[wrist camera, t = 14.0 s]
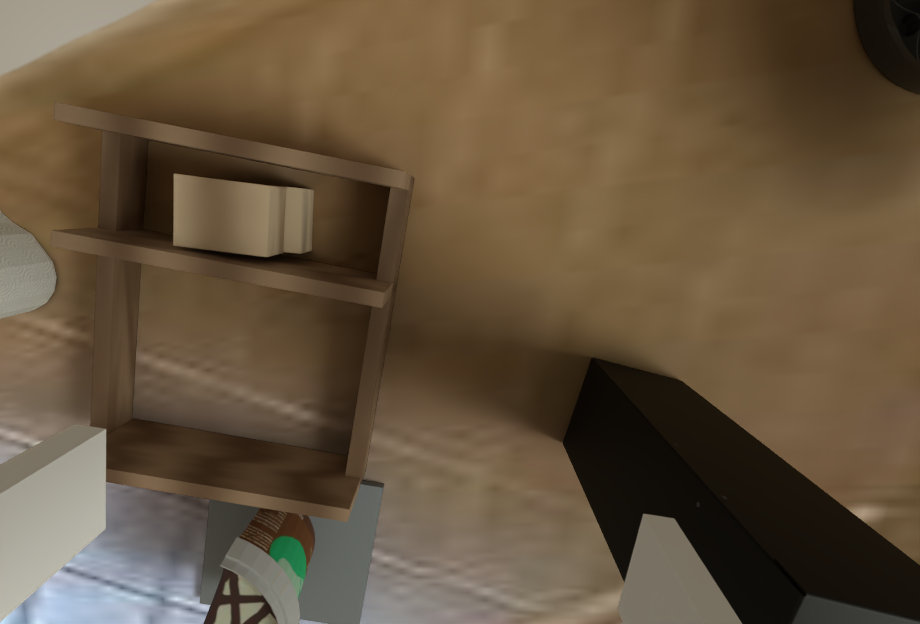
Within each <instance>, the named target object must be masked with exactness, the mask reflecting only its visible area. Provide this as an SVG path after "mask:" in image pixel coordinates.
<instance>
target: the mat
mask: <svg viewBox="0 0 920 624" xmlns="http://www.w3.org/2000/svg"><path fill="white" fill-rule="evenodd" d="M383 487H384V484H381V483H375V482H369V481H363V480H362V482H361V485H360V488H359V490H358V493H357V496H356V499H355V502H354V505H353V507H352V510H351V513H350V516H349V519H348V522H343V521H337V520H331V519H325V518H319V517H313V516H309V518H310V520H311V522H312V525H313V528H314V532H315V547H314V551H313V554H312V557H311V560H310V563H309V567H308V570H307V573H306V576H305V579H304V582H303V586H302V589H301V592H300V595H299V598H298V602H299V610H300V619H303V620H309V621H316V622H322V623H328V624H359V623H360V617H361V612H362V606H363V600H364V595H365V589H366V583H367V578H368V572H369V566H370V561H371V555H372V549H373V544H374V538H375V532H376V527H377V521H378V515H379V509H380V504H381V498H382V492H383ZM259 509H260V508H259V507H253V506H247V505H241V504H235V503H229V502H223V501H217V500H211V499H210V502H209V512H208V523H207V533H206V543H205V554H204V564H203V574H202V585H201V595H200V603H202V604H208V605H211V603H212V601H213V598H214V595H215V593H216V590H217V587H218V585H219V582H220V579H221V576H222V573H223V567H221V566H220V565H221V563H222V561H223V560H224V558H225V556H226V554H227V552H228V551H229V549H230V547H231V546H232V544H233V543H234V541H235V539H236V538H237V537H238V538H239V537H240V536H241V534H242V533H243V532H244V530H245V529H246V527H247V526H248V525H249V523H250V522H251V520H252V519H253V518H254V516H255V515H256V513H257V512H258V511H259Z"/></svg>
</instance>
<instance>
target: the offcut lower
mask: <svg viewBox="0 0 920 624" xmlns="http://www.w3.org/2000/svg"><path fill="white" fill-rule="evenodd" d="M252 184H253V183H252ZM260 185H263V184H260ZM268 186H273V185H268ZM276 187H283V186H276ZM283 188H287V189H286V208H285V227H284V246H283V252H288V253H298V254H301V253H305V252H309V251H312V230H313V201H314V190H311V189H303V188H293V187H283Z"/></svg>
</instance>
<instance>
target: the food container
mask: <svg viewBox="0 0 920 624" xmlns="http://www.w3.org/2000/svg"><path fill="white" fill-rule="evenodd" d="M314 547H315V532H314V528H313V525H312V522H311V520H310V518H309V516H307V515H301V514H295V513H289V512H283V511H277V510H271V509H265V508H260V509H259V511H258V512H257V513H256V515H255V516H254V518H253V519H252V520H251V522H250V523H249V525H248V526H247V527H246V529H245V530H244V532H243V533H242V534H241V536H240V537H239V538H238V537H237V538H236V539H235V541H234V543H233V544H232V546H231V547H230V549H229V551H228V552H227V554H226V556H225V558H224V560H223V561H222V563H221V565H220V566H221V567H223V573H222V576H221V579H220V582H219V585H218V587H217V590H216V593H215V595H214V598H213V601H212V603H211V606H210V609H209V611H208V614H207V616H206V619H205V621H204V624H299V620H300V610H299V602H298V598H299V595H300V592H301V589H302V586H303V582H304V579H305V576H306V573H307V570H308V567H309V563H310V560H311V557H312V554H313V551H314Z"/></svg>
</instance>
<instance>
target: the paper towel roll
mask: <svg viewBox="0 0 920 624" xmlns="http://www.w3.org/2000/svg"><path fill="white" fill-rule="evenodd" d="M56 278H57V276H56V272H55V268H54V264H53V261H52V260H51V259H50V257H49V256H48V255H47V253H46V252H45V251H44V249H43V248H42V247H41V245H40V244H39V243H38V242H37V240H36V239H35V238H34V237H33V235H32V234H31V233H29V232H28V231H26V230H24V229H23V228H21V227H20V226H18V225H16V224H15V223H13V222H12V221H11V220H10V219H8V218H7V217H6V216H5V215H4V214H3V213H2V212H1V211H0V318H5V317H9V316H13V315H17V314H21V313H25V312H29V311H33V310H35V309H37V308H38V307H40V306H42V305H44V304H45V303H47V302H48V300H49V299H50V297H51V296H52V294H53V293H54V291H55V285H56Z"/></svg>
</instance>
